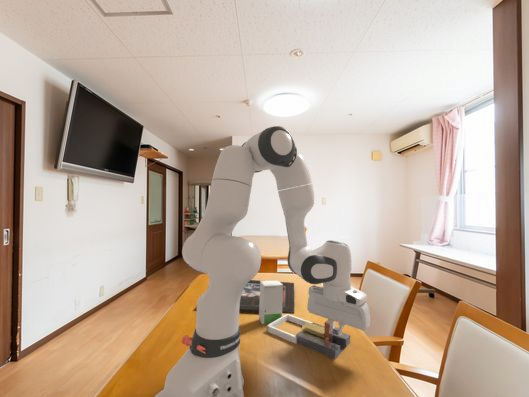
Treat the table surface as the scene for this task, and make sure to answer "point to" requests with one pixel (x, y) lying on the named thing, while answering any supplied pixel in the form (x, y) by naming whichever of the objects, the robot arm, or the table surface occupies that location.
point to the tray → (283, 334)
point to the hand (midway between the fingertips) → (336, 333)
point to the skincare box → (270, 301)
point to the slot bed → (324, 343)
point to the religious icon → (252, 297)
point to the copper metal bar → (328, 332)
